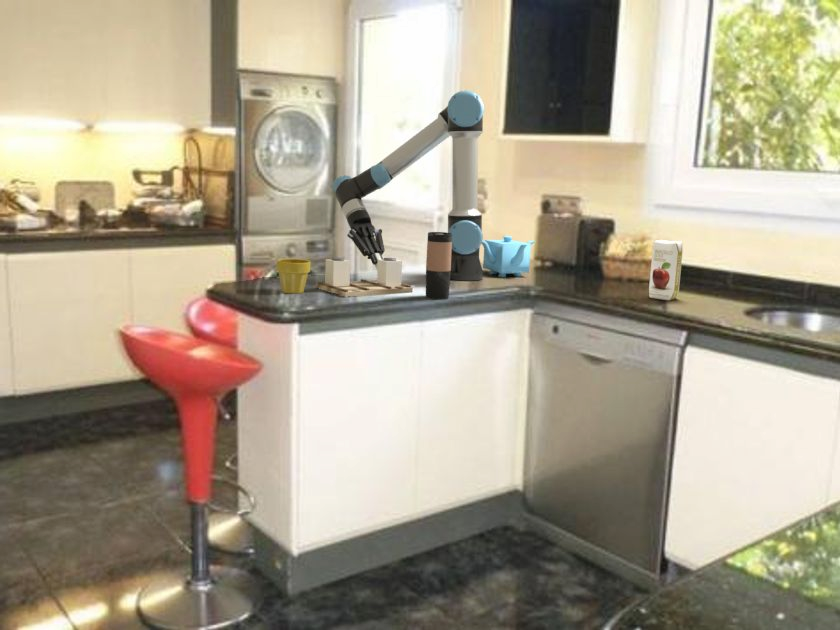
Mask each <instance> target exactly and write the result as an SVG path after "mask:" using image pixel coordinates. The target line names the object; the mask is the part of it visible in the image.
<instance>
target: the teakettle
mask: <svg viewBox="0 0 840 630" xmlns="http://www.w3.org/2000/svg"><path fill="white" fill-rule="evenodd" d="M536 242H537V240H529V241H527V242H523V241H519V240H513V236H511V235H509V236H508V235H504V236H502V239H484V241H483V240H482V243H481V245H482V246H483V265H482V269H485V270H489V273H488V275H492V274H495V275H497V273H498V275H497V276H498V278H507V275H514V277H516V278H522V277H523V275H522V274H525V273H527V274H528V273H530V264H531V263H530V261H531V247H532V245H533V243H536Z"/></svg>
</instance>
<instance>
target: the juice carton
mask: <svg viewBox="0 0 840 630" xmlns="http://www.w3.org/2000/svg"><path fill="white" fill-rule="evenodd" d="M683 249H684V247H683V242H682V241H670V240H666V239H665V240H664V239H659V240H658V239H657V240H655V241H654V244H653V247H652V253H651V254H652V255H651V263H650V264H651V265H650V275H649V276H650V277H649V287H648V291H649V292H648V294H649V298H651V299H657V300H663V301H672V300H676V299H677V297H678V295H679V291H680V282H681V271H682V264H683V263H682V261H683V252H684V250H683Z"/></svg>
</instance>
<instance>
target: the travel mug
mask: <svg viewBox="0 0 840 630" xmlns="http://www.w3.org/2000/svg"><path fill="white" fill-rule="evenodd" d="M426 244H427V245H426V262H425V298H427V299H431V300H447V299H449V298H450V297H449V294H450V285H451V284H450V282H451V279H450V273H451V250H452V233H448V232H443V231H429V232H427V243H426Z"/></svg>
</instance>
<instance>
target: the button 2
mask: <svg viewBox="0 0 840 630" xmlns="http://www.w3.org/2000/svg"><path fill="white" fill-rule="evenodd" d="M402 268H403V261H402V260H400V259H397V258H395V257H383V259H382V260H378V269H376V273H377V274H376V278H377V279H376V280H377V283H379V284H382V285H386V286H401V283H402V273H403V272H402V271H403V269H402Z"/></svg>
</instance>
